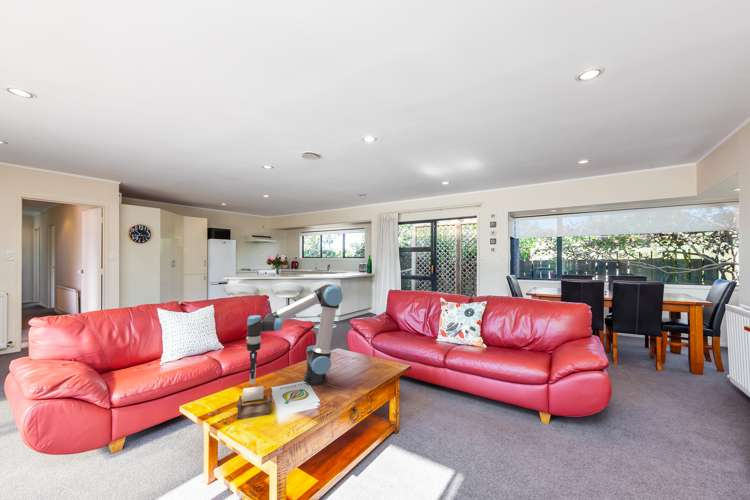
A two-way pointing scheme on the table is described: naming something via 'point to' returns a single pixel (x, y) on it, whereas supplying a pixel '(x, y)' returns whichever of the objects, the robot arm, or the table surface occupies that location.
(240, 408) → the holder
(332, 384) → the table surface
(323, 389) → the table surface
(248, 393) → the roll
